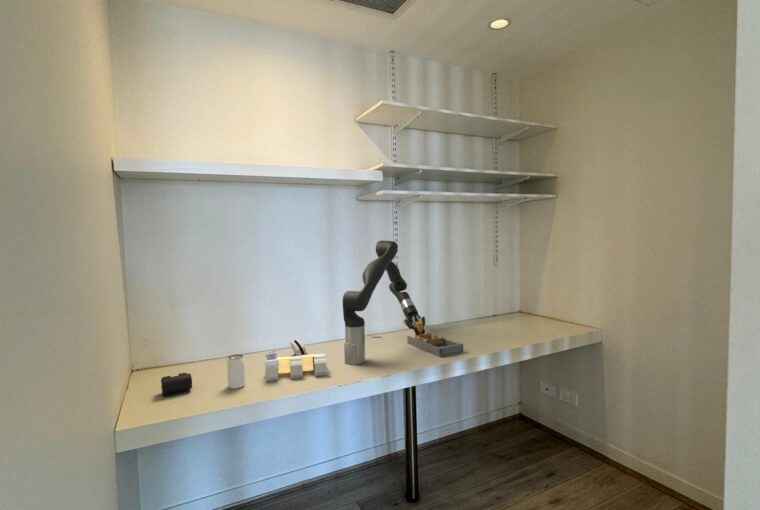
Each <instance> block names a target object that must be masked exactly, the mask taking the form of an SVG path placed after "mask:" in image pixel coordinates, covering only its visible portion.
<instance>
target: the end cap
mask: <svg viewBox="0 0 760 510" xmlns="http://www.w3.org/2000/svg"><path fill="white" fill-rule="evenodd" d="M160 383H161V386H160V388H161V395H162V396H163V397H166V396H171V395H176V394H181V393H185V392H188V391H189V392H190V391H191V390H192V389H193V377H192V374H191V373H187V372H182V373H178V374H177V375H176V376H171V375H167V376H163V377H161V379H160Z"/></svg>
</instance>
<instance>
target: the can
mask: <svg viewBox="0 0 760 510" xmlns="http://www.w3.org/2000/svg"><path fill="white" fill-rule="evenodd" d="M227 358H228V359H227V361H226V362H227V363H226V365H227V367H226V368H227V386H228V388H229V389H231V390H233V389H234V390H238V389H241V388H243V387H245V385H246V367H245V358H244V355H243V354H232V355H229V356H228V357H227Z"/></svg>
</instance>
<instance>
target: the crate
mask: <svg viewBox="0 0 760 510" xmlns="http://www.w3.org/2000/svg"><path fill="white" fill-rule="evenodd" d="M420 321H421V320H420ZM420 321H419V322H415V324H416V328H417V329H418V331H419V335H417V334H415V333H414V334H415V335H414V336H415V337H414V338H416V339H419V340H421V341H424V342H426V343H429V344H431V345H434V346H440V345H444V338H445V337H443V336H440V335H436V334H434V333H431V334H427V333H424V334H423V328H424V327H423V322H420Z"/></svg>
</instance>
